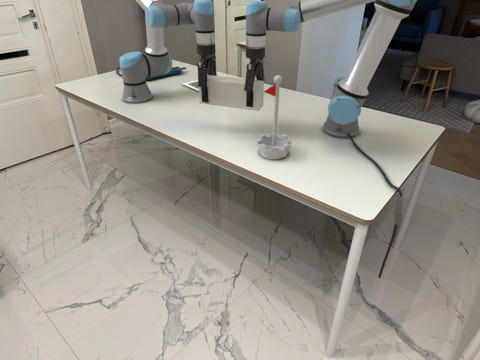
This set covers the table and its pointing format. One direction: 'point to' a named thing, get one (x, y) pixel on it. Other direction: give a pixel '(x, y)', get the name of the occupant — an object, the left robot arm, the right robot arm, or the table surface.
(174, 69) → the submachine gun
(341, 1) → the right robot arm
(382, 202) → the table surface
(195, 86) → the tablet
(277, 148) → the flag stand
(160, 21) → the left robot arm
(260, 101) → the box
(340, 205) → the table surface
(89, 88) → the table surface
